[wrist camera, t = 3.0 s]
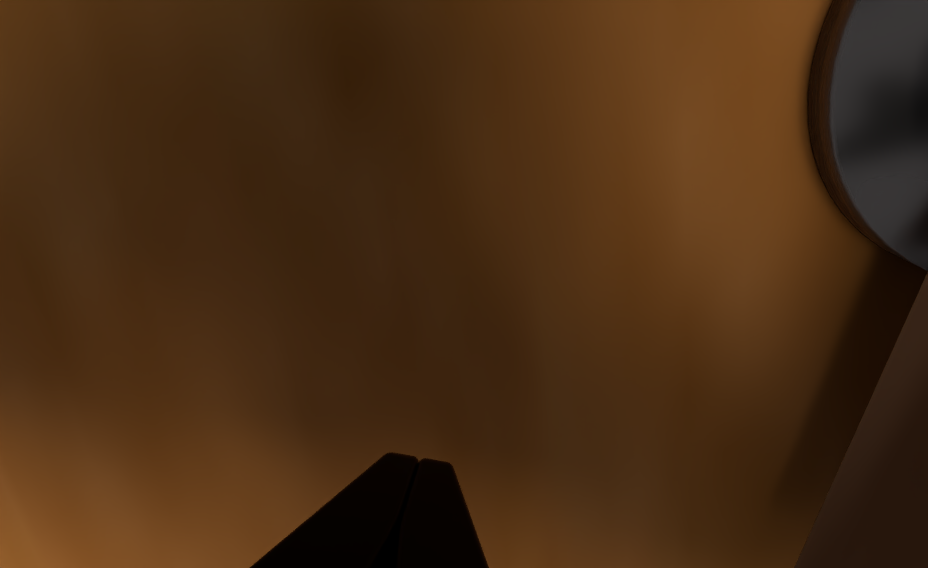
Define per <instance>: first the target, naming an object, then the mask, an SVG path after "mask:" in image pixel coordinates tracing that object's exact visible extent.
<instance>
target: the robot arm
mask: <svg viewBox="0 0 928 568" xmlns="http://www.w3.org/2000/svg"><path fill="white" fill-rule="evenodd" d="M250 568H489V567H488V564H487V561H486V559H485V556H484V553H483V550H482V547H481V544H480V542H479V539H478V536H477V533H476V530H475V527H474V525H473V522H472V519H471V516H470V513H469V510H468V508H467V505H466V502H465V499H464V496H463V493H462V490H461V488H460V485H459V482H458V479H457V476H456V473H455V471H454V468H453V466H452V464H450V463H448V462H444V461H438V460H433V459H427V458H424V459H422V460H421V461H420V462H419V461H418V459H417V458H416V457H415V456H410V455H404V454H398V453H390V452H389V453H387V454H385V455H384V456H383V457H381V458H380V459H379V460H378V461H377V462H375V463H374V464H373V465H372V466H371V467H369V468H368V469H367V470H366V471H365V472H363V473H362V474H361V475H360V476H359V477H357V478H356V479H355V480H354V481H353V482H351V483H350V484H349V485H348V486H347V487H345V488H344V489H343V490H342V491H341V492H339V493H338V494H337V495H336V496H335V497H333V498H332V499H331V500H330V501H329V502H328V503H326V504H325V505H324V506H323V507H322V508H320V509H319V510H318V511H317V512H316V513H314V514H313V515H312V516H311V517H310V518H308V519H307V520H306V521H305V522H304V523H302V524H301V525H300V526H299V527H298V528H296V529H295V530H294V531H293V532H292V533H290V534H289V535H288V536H287V537H286V538H284V539H283V540H282V541H281V542H280V543H279V544H277V545H276V546H275V547H274V548H273V549H271V550H270V551H269V552H268V553H267V554H265V555H264V556H263V557H262V558H261V559H259V560H258V561H257V562H256V563H255V564H253V565H252V566H251V567H250Z"/></svg>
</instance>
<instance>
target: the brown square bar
mask: <svg viewBox="0 0 928 568" xmlns="http://www.w3.org/2000/svg"><path fill="white" fill-rule="evenodd" d="M794 568H928V273H927V275H926V277H925V279H924V281H923V284H922V286H921V288H920V290H919V293H918V295H917V297H916V299H915V301H914V304H913V306H912V308H911V310H910V312H909V315H908V317H907V319H906V321H905V324H904V326H903V328H902V330H901V332H900V335H899V337H898V339H897V341H896V343H895V346H894V348H893V350H892V352H891V355H890V357H889V359H888V361H887V363H886V366H885V368H884V370H883V372H882V374H881V377H880V379H879V381H878V383H877V386H876V388H875V390H874V392H873V394H872V397H871V399H870V401H869V403H868V405H867V408H866V410H865V412H864V414H863V417H862V419H861V421H860V423H859V425H858V428H857V430H856V432H855V434H854V436H853V439H852V441H851V443H850V445H849V448H848V450H847V452H846V454H845V456H844V459H843V461H842V463H841V465H840V467H839V470H838V472H837V474H836V476H835V479H834V481H833V483H832V485H831V487H830V490H829V492H828V494H827V496H826V498H825V501H824V503H823V505H822V507H821V510H820V512H819V514H818V516H817V518H816V521H815V523H814V525H813V527H812V529H811V532H810V534H809V536H808V538H807V541H806V543H805V545H804V547H803V549H802V552H801V554H800V556H799V558H798V560H797V563H796V565H795V567H794Z"/></svg>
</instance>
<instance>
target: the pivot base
mask: <svg viewBox="0 0 928 568" xmlns="http://www.w3.org/2000/svg"><path fill="white" fill-rule="evenodd" d="M808 122H809V129H810V136H811V144H812V150H813V153H814V156H815V160H816V163H817V166H818V170H819V173H820V175H821V177H822V179H823V181H824V183H825V185H826V188H827V190H828V192H829V194H830V196H831V197H832V199H833V200H834V201H835V203H836V204H837V206H838V207H839V209H840V210H841V211H842V213H843V214H844V216H845V217H846V218H847V219H848V220H849V221H850V222H851V223H852V224H853V225H854V226H855V227H856V228H857V229H858V230H859V231H860V232H861V233H862V234H864V235H865V236H866V237H868V238H869V239H870V240H872V241H873V242H874V243H876V244H877V245H878V246H880V247H881V248H883V249H885V250H887V251H889V252H891V253H892V254H894V255H896V256H898V257H900V258H902V259H904V260H906V261H908V262H910V263H912V264H914V265H916V266H918V267H920V268H922V269H924V270H926V271H928V0H833V2H832V5H831V7H830V10H829V12H828V15H827V18H826V20H825V23H824V25H823V28H822V30H821V33H820V37H819V41H818V44H817V48H816V52H815V56H814V60H813V63H812V71H811V78H810V86H809V93H808Z"/></svg>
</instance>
